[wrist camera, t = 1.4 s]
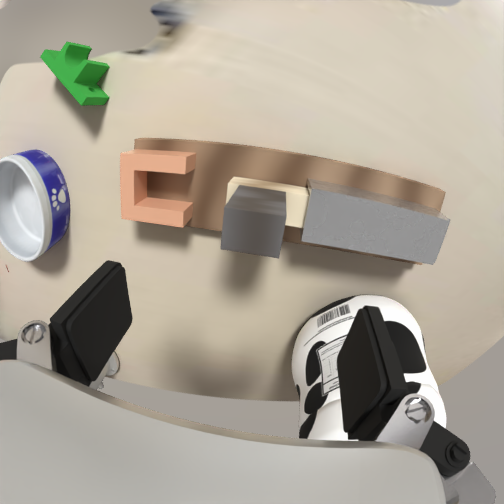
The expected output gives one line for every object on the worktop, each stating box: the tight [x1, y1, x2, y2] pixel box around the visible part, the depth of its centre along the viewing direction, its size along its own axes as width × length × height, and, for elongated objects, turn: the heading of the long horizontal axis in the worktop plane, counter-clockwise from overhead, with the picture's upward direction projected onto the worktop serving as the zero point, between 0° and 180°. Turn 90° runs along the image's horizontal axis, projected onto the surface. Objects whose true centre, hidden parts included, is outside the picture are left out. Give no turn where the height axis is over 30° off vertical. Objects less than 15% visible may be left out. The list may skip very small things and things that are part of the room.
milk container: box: [292, 295, 446, 441], centre depth 28 cm, size 17×17×18 cm
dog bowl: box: [0, 150, 70, 262], centre depth 29 cm, size 15×15×6 cm
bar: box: [221, 177, 310, 258], centre depth 22 cm, size 20×3×10 cm, turn 83°
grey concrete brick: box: [299, 178, 450, 265], centre depth 25 cm, size 15×5×4 cm, turn 83°
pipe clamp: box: [41, 42, 109, 106], centre depth 21 cm, size 11×4×5 cm, turn 41°
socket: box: [120, 149, 196, 228], centre depth 26 cm, size 7×7×3 cm
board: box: [134, 138, 446, 265], centre depth 28 cm, size 34×9×2 cm, turn 83°
